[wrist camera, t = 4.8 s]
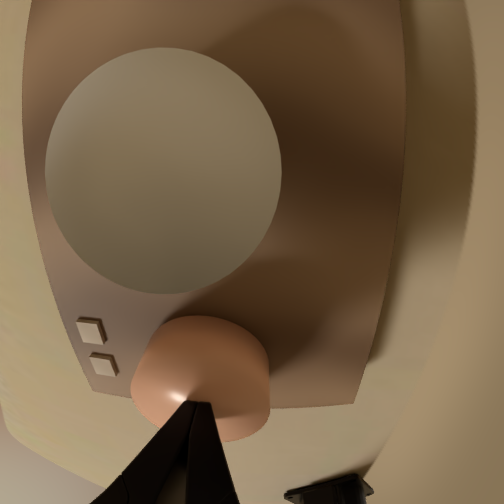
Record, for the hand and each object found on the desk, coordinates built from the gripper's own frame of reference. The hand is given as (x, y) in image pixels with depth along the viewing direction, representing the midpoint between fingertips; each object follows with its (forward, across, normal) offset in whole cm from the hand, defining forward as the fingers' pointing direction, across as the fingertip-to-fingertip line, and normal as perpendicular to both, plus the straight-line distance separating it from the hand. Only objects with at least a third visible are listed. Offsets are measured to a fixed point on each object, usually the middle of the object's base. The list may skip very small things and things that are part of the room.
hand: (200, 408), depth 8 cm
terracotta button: (+2, 0, 0) cm, 2 cm away
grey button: (+1, 0, -7) cm, 7 cm away
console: (+4, 0, -7) cm, 8 cm away
